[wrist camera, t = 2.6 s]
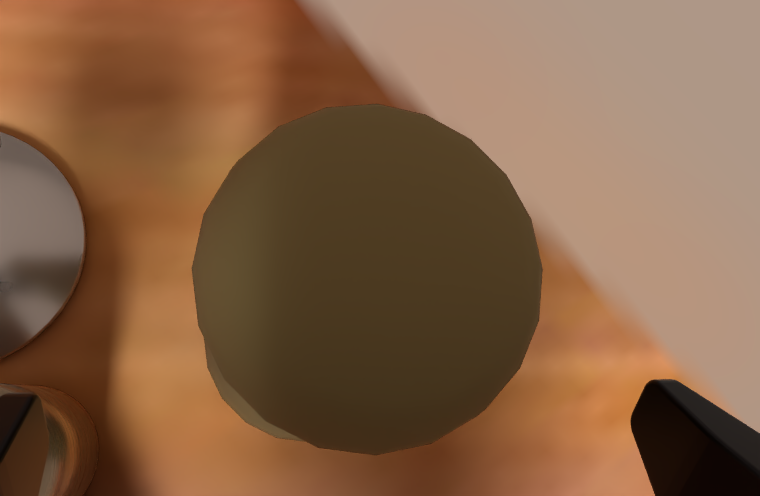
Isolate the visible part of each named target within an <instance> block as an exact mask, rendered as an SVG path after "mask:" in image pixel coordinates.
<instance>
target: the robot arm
mask: <svg viewBox="0 0 760 496" xmlns="http://www.w3.org/2000/svg"><path fill="white" fill-rule="evenodd" d="M631 429H632V433H633V435H634V438H635V441H636V444H637V447H638V449H639V452H640V455H641V458H642V460H643V463H644V466H645V469H646V471H647V474H648V477H649V480H650V483H651V485H652V488H653V491H654V494H655V496H760V433H758V432H757V431H755V430H754V429H752V428H750V427H749V426H747V425H746V424H744V423H743V422H741V421H739V420H738V419H736V418H735V417H733V416H732V415H730V414H728V413H727V412H725V411H724V410H722V409H721V408H719V407H718V406H716V405H714V404H713V403H711V402H710V401H708V400H707V399H705V398H703V397H702V396H700V395H699V394H697V393H696V392H694V391H693V390H691V389H689V388H688V387H686V386H685V385H683V384H682V383H680V382H678V381H676V380H672V379H660V380H651V381H649V382H648V383H647V384H646V385H645V387H644V389H643V391H642V393H641V396H640V398H639V400H638V402H637V404H636V406H635V408H634V410H633V413H632V415H631ZM48 448H49V435H48V430H47V425H46V420H45V415H44V410H43V405H42V401H41V398H40V396H39V395H38V394H36V393H33V392H28V393H6V394H3V395H1V396H0V496H39V491H40V486H41V482H42V477H43V473H44V468H45V464H46V459H47V454H48Z"/></svg>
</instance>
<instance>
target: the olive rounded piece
mask: <svg viewBox="0 0 760 496" xmlns="http://www.w3.org/2000/svg"><path fill="white" fill-rule="evenodd" d="M542 270H543V269H542V264H541V260H540V256H539V251H538V247H537V242H536V238H535V234H534V229H533V225H532V221H531V218H530V216H529V214H528V213H527V211H526V209H525V207H524V205H523V204H522V202H521V200H520V198H519V197H518V195H517V193H516V191H515V189H514V188H513V186H512V184H511V182H510V180H509V179H508V177H507V175H506V174H505V173H504V172H503V171H502V170H501V169H500V168H499V167H498V166H497V165H496V164H495V163H494V162H493V161H492V160H491V159H490V158H489V157H488V156H487V155H486V154H485V153H484V152H483V151H482V150H481V149H480V148H479V147H478V146H477V145H476V144H475V143H474V142H473V141H472V140H471V139H469V138H467V137H465V136H464V135H462V134H460V133H458V132H456V131H455V130H453V129H451V128H449V127H447V126H446V125H444V124H442V123H440V122H438V121H436V120H435V119H433V118H431V117H429V116H427V115H424V114H420V113H415V112H411V111H407V110H402V109H398V108H393V107H389V106H384V105H380V104H369V105H355V106H341V107H328V108H324V109H322V110H319V111H317V112H314V113H312V114H309V115H307V116H304V117H302V118H299V119H297V120H294V121H292V122H289V123H286V124H284V125H281V126H279V127H278V128H276V129H275V130H274V131H273V132H272V133H270V134H269V135H268V136H267V137H266V138H265V139H263V140H262V141H261V142H260V143H259V144H257V145H256V146H255V147H254V148H253V149H251V150H250V151H249V152H248V153H247V154H245V155H244V156H243V157H242V158H241V159H239V160H238V161H237V163H236V164H235V165H234V166H233V167H232V169H231V170H230V172H229V174H228V175H227V177H226V178H225V180H224V182H223V183H222V185H221V187H220V188H219V190H218V192H217V193H216V195H215V197H214V198H213V200H212V201H211V203H210V205H209V206H208V208H207V210H206V211H205V213H204V215H203V220H202V224H201V229H200V233H199V238H198V243H197V247H196V252H195V256H194V261H193V265H192V275H193V284H194V292H195V301H196V309H197V318H198V326H199V328H200V330H201V332H202V334H203V336H204V342H205V350H206V359H207V367H208V370H209V372H210V374H211V376H212V378H213V380H214V382H215V384H216V386H217V389H218V391H219V393H220V395H221V397H222V399H223V400H224V401H225V402H226V403H227V404H228V405H229V406H230V407H231V408H232V409H233V410H234V411H235V412H236V413H237V414H238V415H239V416H240V417H241V418H242V419H243V420H244V421H245V422H246V423H248V424H250V425H252V426H254V427H256V428H258V429H260V430H262V431H264V432H266V433H268V434H270V435H272V436H274V437H276V438H283V439H291V440H298V441H306V442H308V443H310V444H312V445H314V446H316V447H318V448H324V449H332V450H340V451H347V452H355V453H363V454H370V455H379V454H384V453H389V452H394V451H398V450H403V449H408V448H413V447H418V446H422V445H427V444H431V443H433V442H435V441H436V440H438V439H440V438H441V437H443V436H445V435H446V434H448V433H450V432H451V431H453V430H455V429H456V428H458V427H460V426H461V425H463V424H465V423H466V422H468V421H470V420H471V419H473V418H475V417H476V416H478V415H479V414H480V413H481V412H483V411H484V410H485V409H486V408H487V407H488V406H489V404H490V403H491V402H492V401H493V400H494V398H495V397H496V396H497V395H498V394H499V392H500V391H501V390H502V389H503V388H504V387H505V385H506V384H507V383H508V382H509V381H510V379H511V378H512V377H513V376H514V375H515V373H516V372H517V371H518V370H519V369H520V367H521V364H522V362H523V359H524V357H525V354H526V351H527V349H528V346H529V344H530V341H531V339H532V336H533V334H534V331H535V329H536V326H537V324H538V321H539V313H540V298H541V284H542Z"/></svg>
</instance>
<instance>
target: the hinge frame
mask: <svg viewBox="0 0 760 496" xmlns="http://www.w3.org/2000/svg"><path fill="white" fill-rule="evenodd" d="M85 253H86V228H85V221H84V216H83V213H82V209H81V206H80V203H79V201H78V199H77V197H76V195H75V192H74V190H73V189H72V187H71V186H70V184H69V183H68V181H67V180H66V178H65V177H64V176H63V174H62V173H61V172H60V171H59V170H58V169H57V167H56V166H55V165H54V164H53V163H52V162H51V161H50V160H49V159H48V158H46V157H45V156H44V155H43V154H42V153H41V152H39V151H38V150H36V149H35V148H33V147H32V146H30V145H29V144H27V143H25V142H23V141H21V140H19V139H17V138H15V137H13V136H10V135H8V134H5V133H2V132H0V359H2V358H4V357H7V356H9V355H10V354H12V353H14V352H16V351H17V350H19V349H21V348H22V347H24V346H26V345H27V344H28V343H29V342H31V341H32V340H33V339H35V338H36V337H37V336H39V335H40V334H41V333H42V332H43V331H44V330H45V329H46V328H47V327H48V326H49V325H50V324H51V323H52V322H53V321H54V320H55V319H56V317H57V316H58V315H59V314H60V312H61V311H62V310H63V309H64V307H65V306H66V304H67V302H68V301H69V299H70V297H71V296H72V294H73V292H74V290H75V288H76V285H77V283H78V281H79V278H80V275H81V272H82V268H83V265H84V259H85ZM28 392H33V393H36V394H38V395H39V396H40V398H41V401H42V405H43V410H44V415H45V420H46V425H47V430H48V435H49V448H48V454H47V459H46V464H45V468H44V473H43V477H42V482H41V486H40V491H39V496H83V494H84V493H85V492H86V490H87V488H88V487H89V485H90V483H91V481H92V479H93V476H94V474H95V471H96V467H97V463H98V456H99V442H98V435H97V431H96V428H95V425H94V423H93V421H92V418H91V417H90V415H89V414H88V412H87V411H86V410H85V408H84V407H83V406H82V405H81V404H80V403H79V402H78V401H76V400H75V399H74V398H72V397H71V396H69V395H68V394H66V393H64V392H62V391H59V390H57V389H53V388H50V387H44V386H34V385H18V384H2V383H0V396H1V395H3V394H6V393H28Z"/></svg>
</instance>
